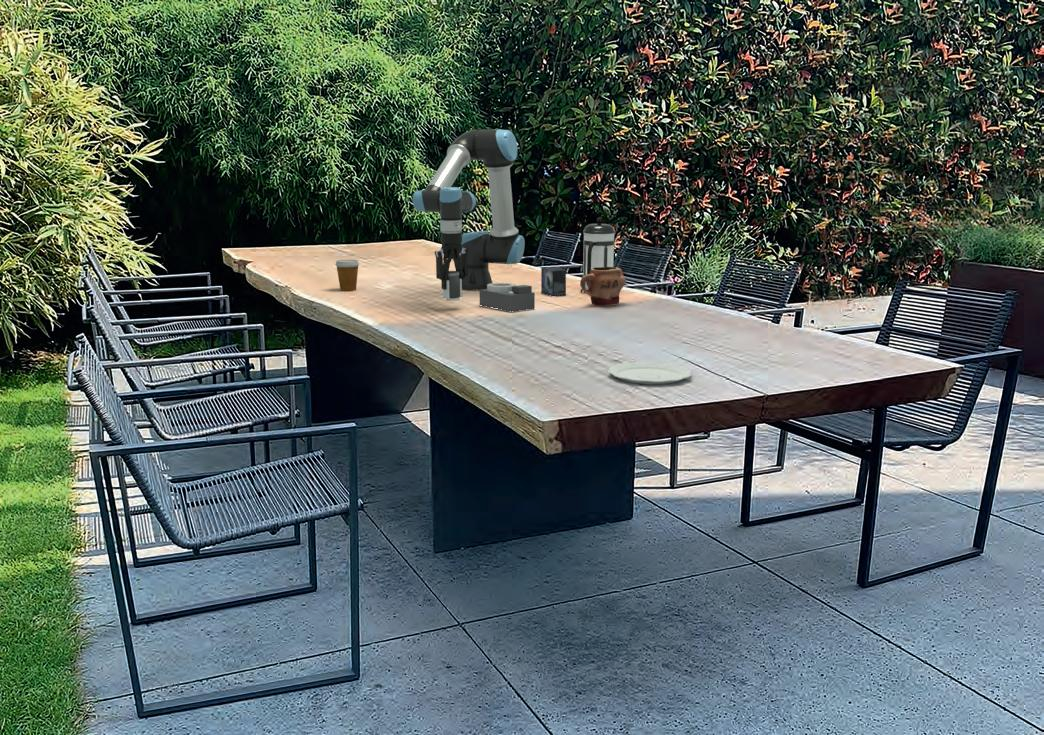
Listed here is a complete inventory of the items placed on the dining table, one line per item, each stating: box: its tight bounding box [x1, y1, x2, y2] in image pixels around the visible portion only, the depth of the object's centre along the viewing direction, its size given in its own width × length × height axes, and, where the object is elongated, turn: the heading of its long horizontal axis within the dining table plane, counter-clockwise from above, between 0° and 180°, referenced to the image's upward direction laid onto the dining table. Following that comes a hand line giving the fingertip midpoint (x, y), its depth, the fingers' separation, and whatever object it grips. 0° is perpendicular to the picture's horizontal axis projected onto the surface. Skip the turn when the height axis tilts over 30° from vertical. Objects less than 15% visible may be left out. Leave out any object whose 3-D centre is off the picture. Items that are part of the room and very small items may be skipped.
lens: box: [445, 270, 461, 302], centre depth 336 cm, size 5×5×10 cm
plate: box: [607, 361, 692, 385], centre depth 239 cm, size 21×21×2 cm
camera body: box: [478, 282, 536, 313], centre depth 341 cm, size 18×11×8 cm, turn 41°
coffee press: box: [580, 216, 616, 294], centre depth 376 cm, size 17×16×30 cm
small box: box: [540, 266, 567, 297], centre depth 373 cm, size 11×6×10 cm, turn 25°
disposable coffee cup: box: [335, 259, 360, 292], centre depth 381 cm, size 10×10×12 cm
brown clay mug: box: [579, 266, 627, 307], centre depth 347 cm, size 20×12×14 cm, turn 128°
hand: (452, 297), depth 337 cm, fingers closed on lens, 5 cm apart
